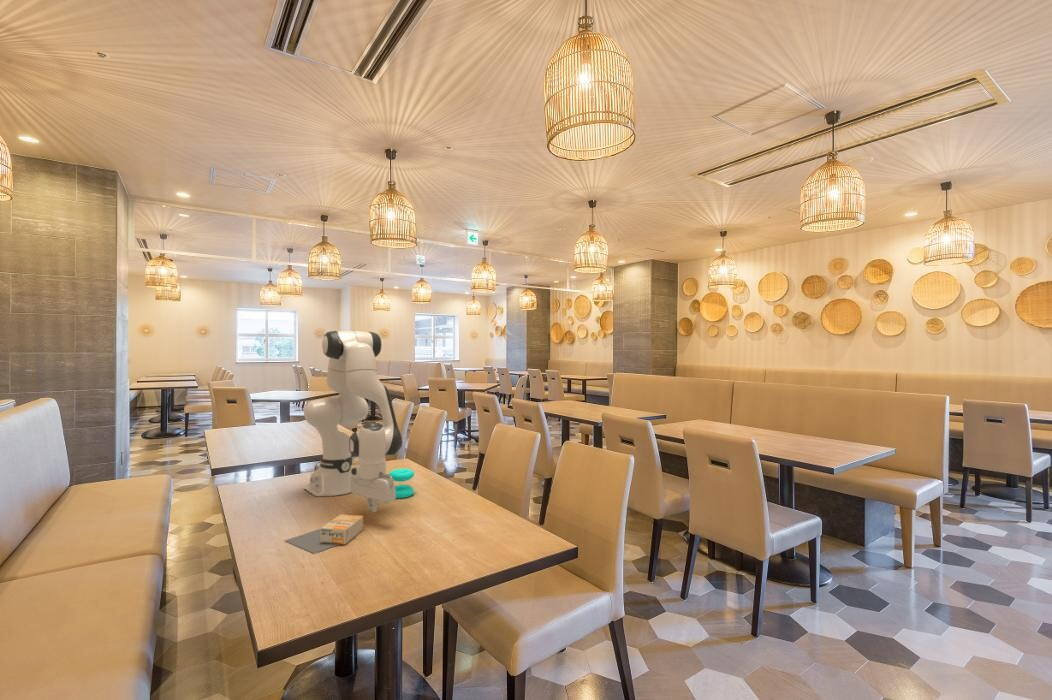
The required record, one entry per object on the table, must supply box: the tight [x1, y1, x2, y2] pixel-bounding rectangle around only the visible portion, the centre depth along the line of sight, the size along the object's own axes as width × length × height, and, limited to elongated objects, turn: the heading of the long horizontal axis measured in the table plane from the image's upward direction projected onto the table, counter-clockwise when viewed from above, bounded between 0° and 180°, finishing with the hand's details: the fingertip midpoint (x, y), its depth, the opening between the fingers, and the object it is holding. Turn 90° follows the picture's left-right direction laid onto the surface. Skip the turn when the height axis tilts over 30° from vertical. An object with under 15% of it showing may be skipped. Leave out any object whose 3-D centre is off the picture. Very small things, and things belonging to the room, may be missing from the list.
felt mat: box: [284, 528, 356, 554], centre depth 152 cm, size 16×14×1 cm
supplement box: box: [320, 514, 365, 545], centre depth 154 cm, size 8×5×13 cm
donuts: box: [388, 468, 415, 499], centre depth 198 cm, size 10×10×10 cm
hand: (372, 510), depth 168 cm, fingers closed
